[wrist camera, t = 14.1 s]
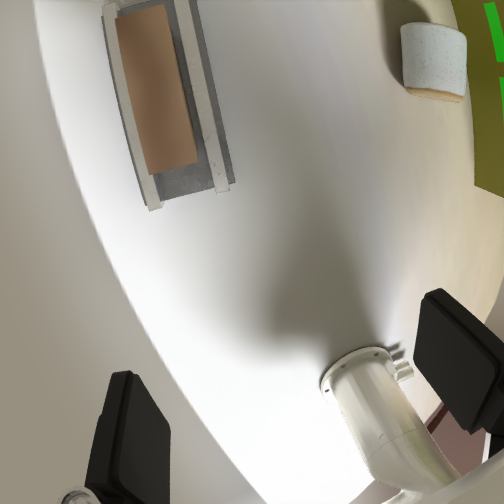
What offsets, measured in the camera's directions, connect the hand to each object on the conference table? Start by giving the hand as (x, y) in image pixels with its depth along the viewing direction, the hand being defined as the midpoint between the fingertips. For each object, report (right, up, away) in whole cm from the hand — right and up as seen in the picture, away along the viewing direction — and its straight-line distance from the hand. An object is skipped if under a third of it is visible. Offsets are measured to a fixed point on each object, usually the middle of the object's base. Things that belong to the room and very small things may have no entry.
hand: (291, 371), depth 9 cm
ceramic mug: (+19, +26, +19) cm, 37 cm away
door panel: (-9, +18, +16) cm, 26 cm away
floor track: (-9, +18, +17) cm, 27 cm away
